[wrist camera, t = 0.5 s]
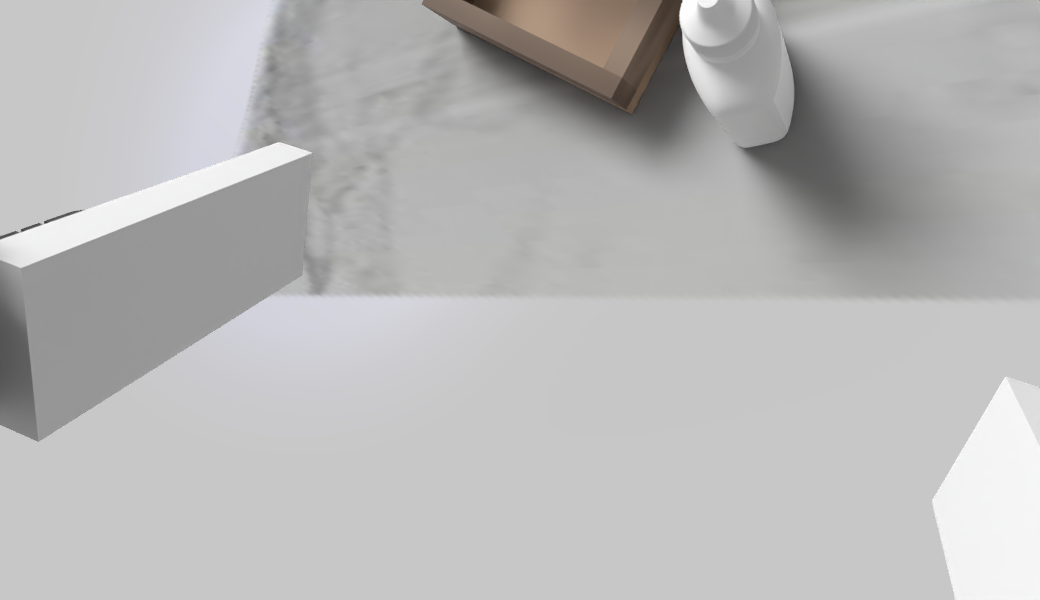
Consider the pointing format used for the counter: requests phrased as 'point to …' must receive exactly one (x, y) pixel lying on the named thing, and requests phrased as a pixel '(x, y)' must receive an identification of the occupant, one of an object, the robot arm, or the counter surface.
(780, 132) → the eye dropper bottle
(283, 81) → the counter surface
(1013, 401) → the robot arm
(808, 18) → the counter surface
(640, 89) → the walnut socket block
